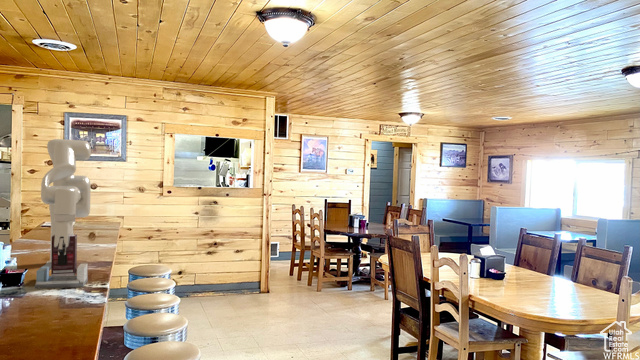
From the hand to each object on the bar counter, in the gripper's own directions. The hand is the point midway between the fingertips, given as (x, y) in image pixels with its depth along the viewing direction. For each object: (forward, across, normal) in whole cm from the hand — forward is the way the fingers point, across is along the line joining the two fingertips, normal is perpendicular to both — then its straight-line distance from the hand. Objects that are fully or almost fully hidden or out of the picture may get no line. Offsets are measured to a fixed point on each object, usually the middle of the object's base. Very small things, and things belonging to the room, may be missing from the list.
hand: (64, 263), depth 191 cm
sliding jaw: (+7, -4, -8) cm, 11 cm away
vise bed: (+9, 0, 0) cm, 9 cm away
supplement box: (+5, 0, 0) cm, 5 cm away
